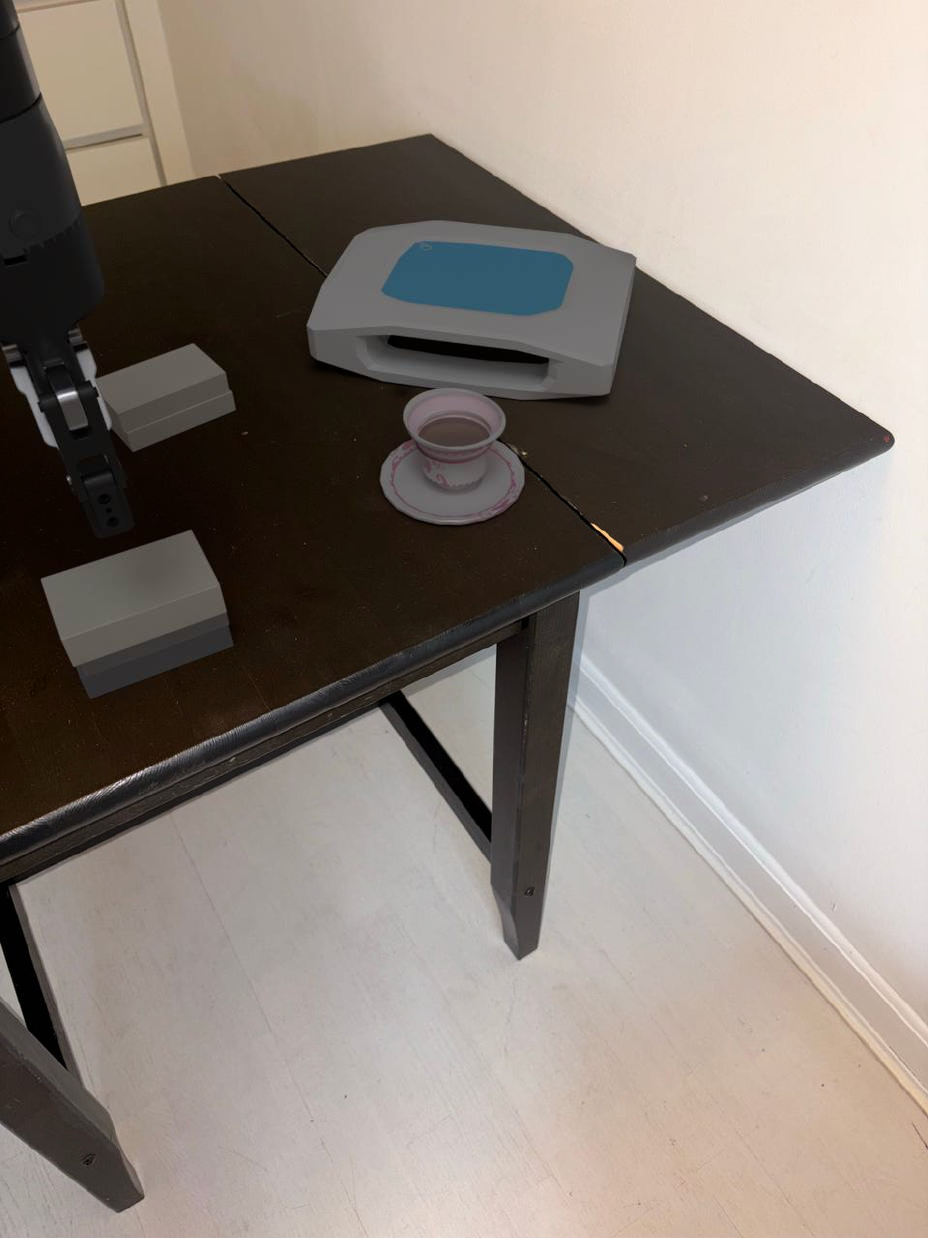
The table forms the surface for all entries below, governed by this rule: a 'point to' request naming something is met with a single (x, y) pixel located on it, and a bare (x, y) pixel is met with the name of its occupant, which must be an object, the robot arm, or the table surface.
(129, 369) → the grey block
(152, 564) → the light grey rectangular block
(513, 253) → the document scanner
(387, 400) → the table surface
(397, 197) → the table surface
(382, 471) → the teacup
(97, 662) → the gray block
